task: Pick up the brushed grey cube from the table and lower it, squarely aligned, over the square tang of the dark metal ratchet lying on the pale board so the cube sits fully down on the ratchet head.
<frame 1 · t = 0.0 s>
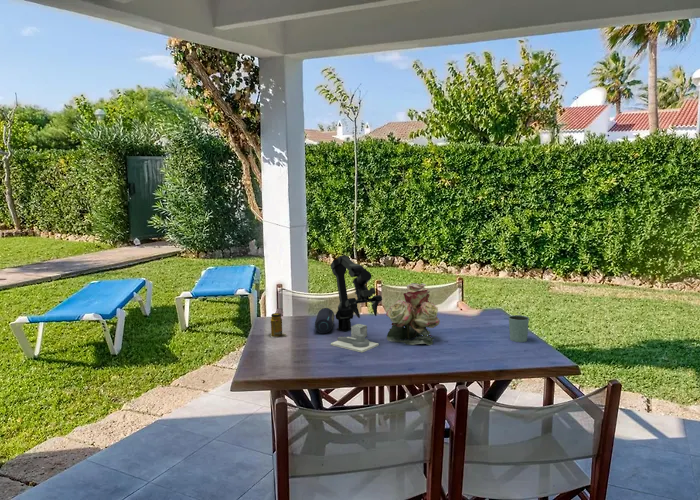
hand: (367, 316, 272), 15 cm above the table, tool tilted 35°, fingers open, 9 cm apart
portable speaker: (325, 329, 304), on the table
brushed grey cube: (359, 336, 288), on the table
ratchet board: (354, 345, 274), on the table
green cup: (517, 340, 280), on the table
rose bouquet: (415, 339, 284), on the table
condiment: (278, 335, 293), on the table
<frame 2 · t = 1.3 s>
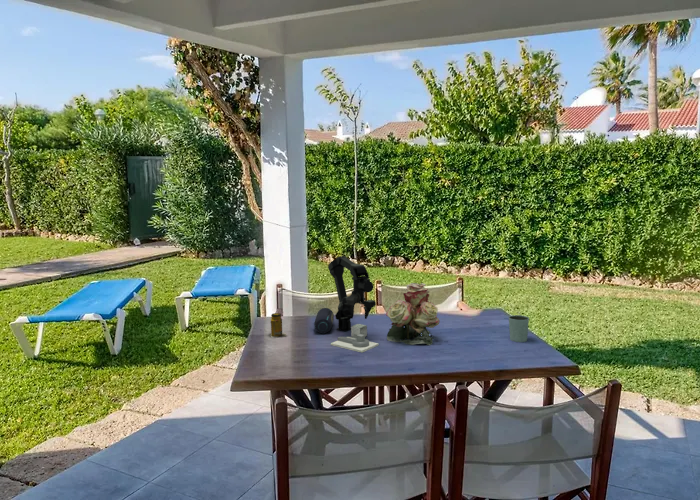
hand: (358, 317, 287), 11 cm above the table, tool pointing down, fingers open, 9 cm apart
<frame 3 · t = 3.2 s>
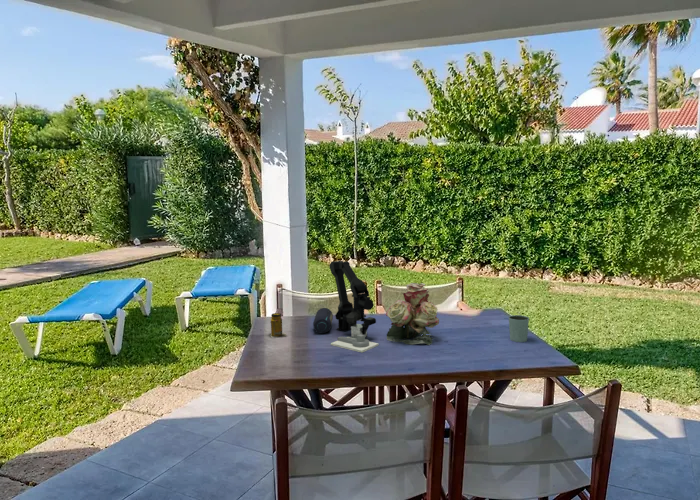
hand: (359, 334, 288), 1 cm above the table, tool pointing down, fingers closed on brushed grey cube, 6 cm apart
brushed grey cube: (359, 336, 288), on the table, touching gripper
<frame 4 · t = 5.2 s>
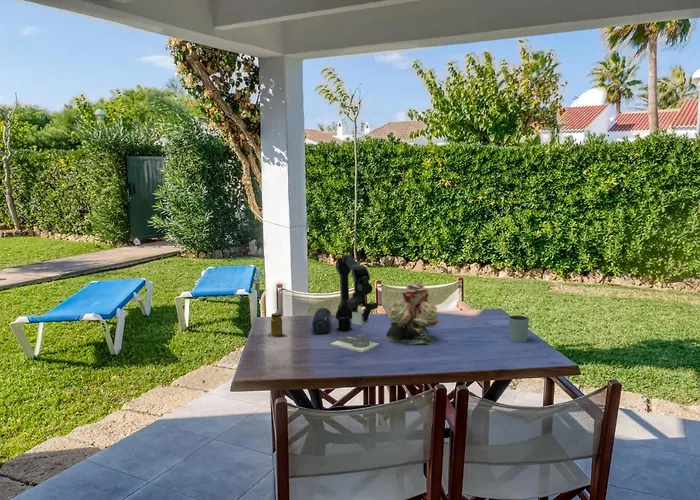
hand: (360, 320, 277), 12 cm above the table, tool pointing down, fingers closed on brushed grey cube, 6 cm apart
brushed grey cube: (360, 322, 277), point 10 cm above the table, touching gripper
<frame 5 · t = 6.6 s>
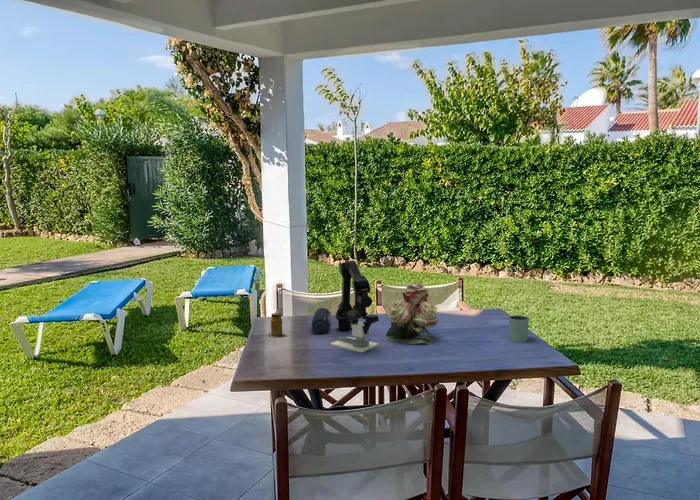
hand: (360, 333, 271), 7 cm above the table, tool pointing down, fingers closed on brushed grey cube, 6 cm apart
brushed grey cube: (360, 335, 271), point 6 cm above the table, touching gripper
when the fingers open (5 cm above the table, at t = 7.5 s): brushed grey cube stays where it is, resting on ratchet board.
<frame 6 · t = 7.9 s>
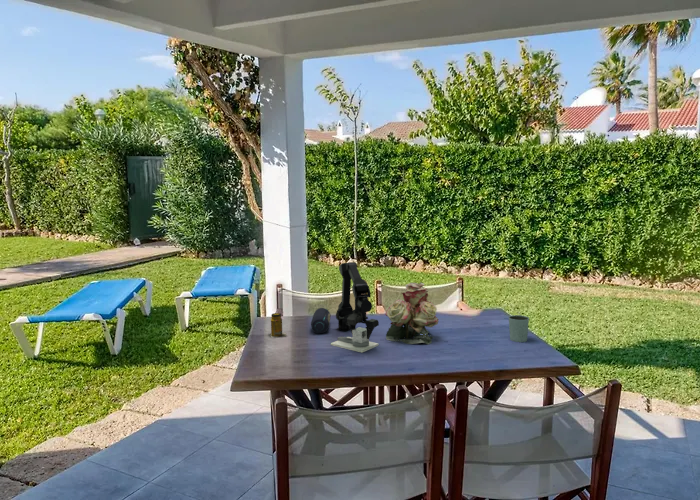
hand: (360, 337, 271), 5 cm above the table, tool pointing down, fingers open, 9 cm apart
brushed grey cube: (360, 340, 271), point 3 cm above the table, touching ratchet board
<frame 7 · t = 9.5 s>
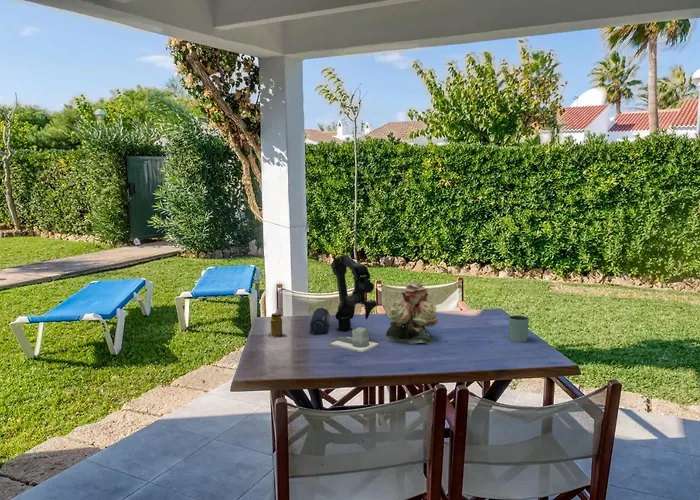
hand: (359, 317, 284), 11 cm above the table, tool pointing down, fingers open, 9 cm apart
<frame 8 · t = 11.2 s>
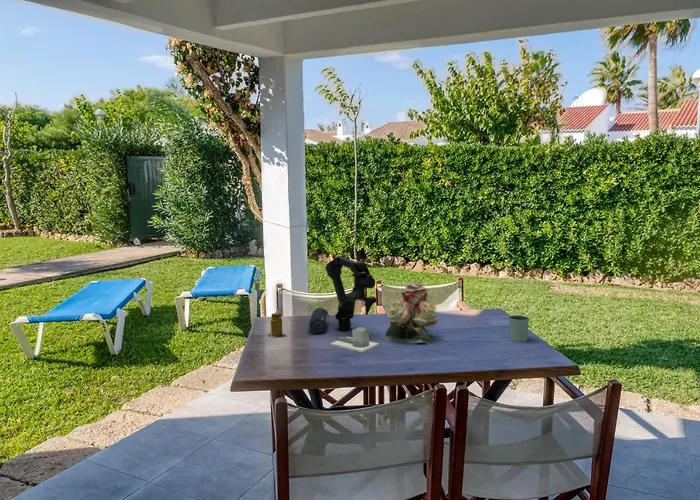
hand: (359, 313, 289), 12 cm above the table, tool pointing down, fingers open, 9 cm apart
at the end: brushed grey cube 0.1 cm from the target spot, point 3.0 cm above the table; brushed grey cube tilted 0°; the gripper is holding nothing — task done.
